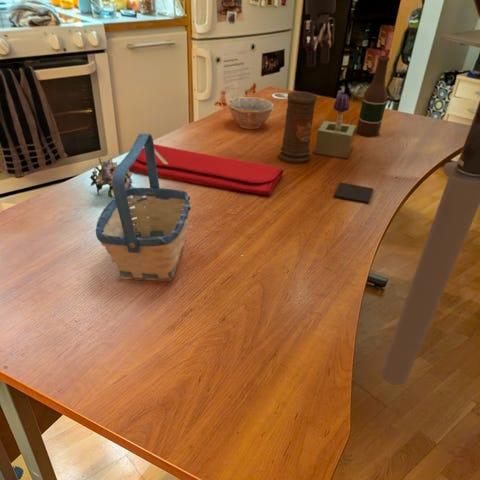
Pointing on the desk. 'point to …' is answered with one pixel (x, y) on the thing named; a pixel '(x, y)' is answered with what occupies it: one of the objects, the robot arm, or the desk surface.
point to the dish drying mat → (210, 170)
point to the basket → (144, 222)
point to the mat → (353, 193)
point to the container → (298, 127)
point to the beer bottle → (374, 101)
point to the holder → (335, 139)
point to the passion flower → (108, 176)
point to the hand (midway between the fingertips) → (317, 65)
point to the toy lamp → (341, 109)
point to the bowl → (250, 111)
